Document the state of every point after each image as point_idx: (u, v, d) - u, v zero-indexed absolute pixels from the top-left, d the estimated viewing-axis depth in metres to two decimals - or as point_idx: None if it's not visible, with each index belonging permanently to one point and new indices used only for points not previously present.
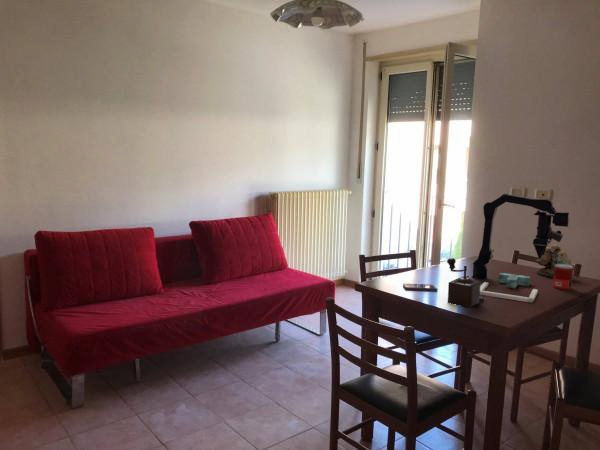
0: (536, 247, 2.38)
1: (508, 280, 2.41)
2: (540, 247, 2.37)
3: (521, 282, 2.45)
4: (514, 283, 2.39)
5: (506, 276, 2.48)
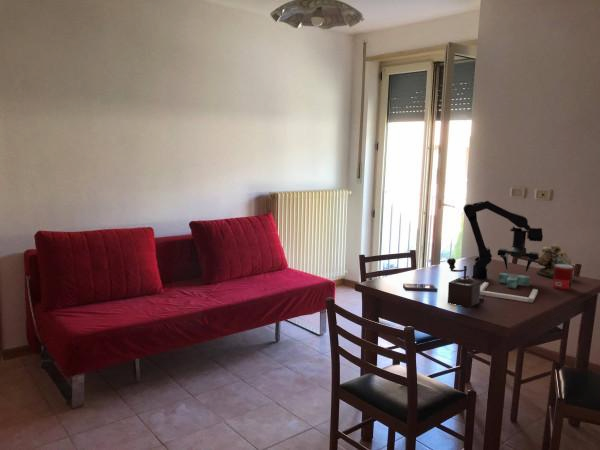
0: None
1: (508, 280, 2.41)
2: None
3: (521, 282, 2.45)
4: (514, 283, 2.39)
5: (506, 276, 2.48)
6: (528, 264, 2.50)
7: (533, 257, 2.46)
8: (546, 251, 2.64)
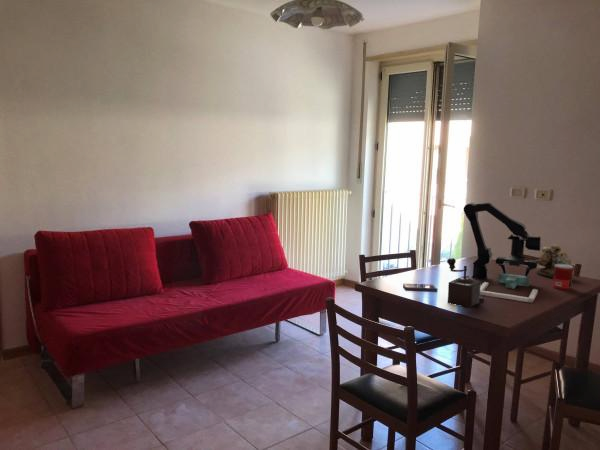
0: None
1: (507, 280, 2.40)
2: None
3: (521, 283, 2.44)
4: (513, 283, 2.39)
5: (506, 276, 2.48)
6: (527, 273, 2.46)
7: (532, 266, 2.43)
8: (546, 251, 2.64)
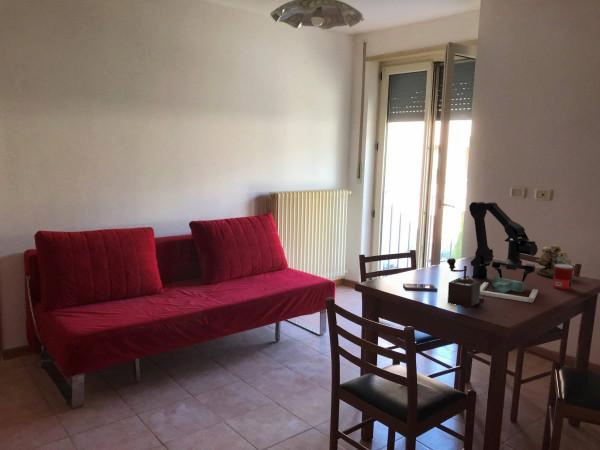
0: None
1: (496, 284, 2.33)
2: None
3: (514, 288, 2.35)
4: (502, 288, 2.31)
5: (499, 280, 2.40)
6: (524, 277, 2.38)
7: (529, 270, 2.35)
8: (546, 251, 2.64)
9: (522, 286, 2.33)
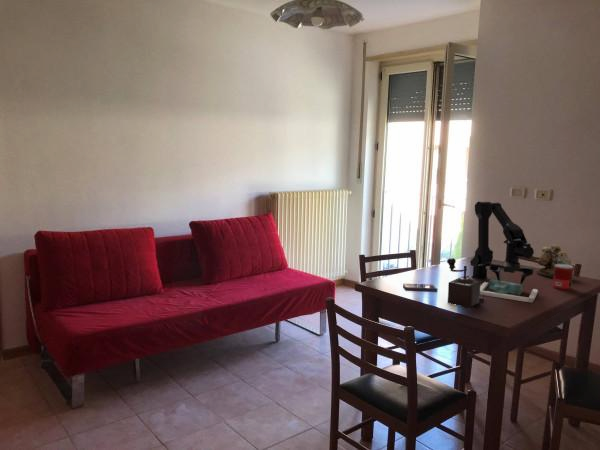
0: None
1: (495, 287, 2.28)
2: None
3: (511, 290, 2.31)
4: (500, 291, 2.26)
5: (496, 283, 2.35)
6: (522, 280, 2.33)
7: (527, 272, 2.30)
8: (546, 251, 2.64)
9: (520, 288, 2.30)
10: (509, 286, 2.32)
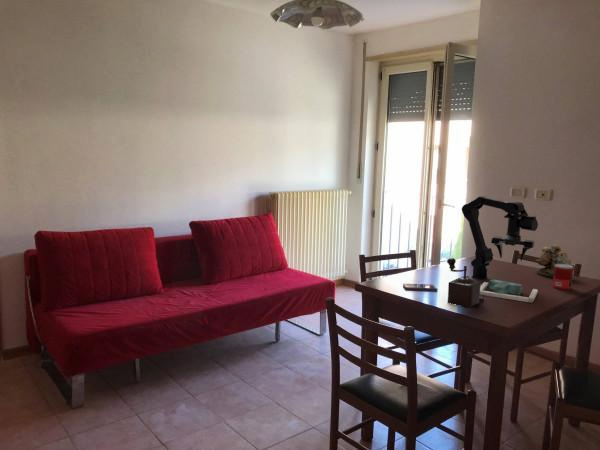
0: None
1: (495, 287, 2.28)
2: None
3: (511, 290, 2.31)
4: (500, 291, 2.26)
5: (496, 283, 2.35)
6: (523, 253, 2.40)
7: (528, 245, 2.36)
8: (546, 251, 2.64)
9: (520, 288, 2.30)
10: (509, 286, 2.32)
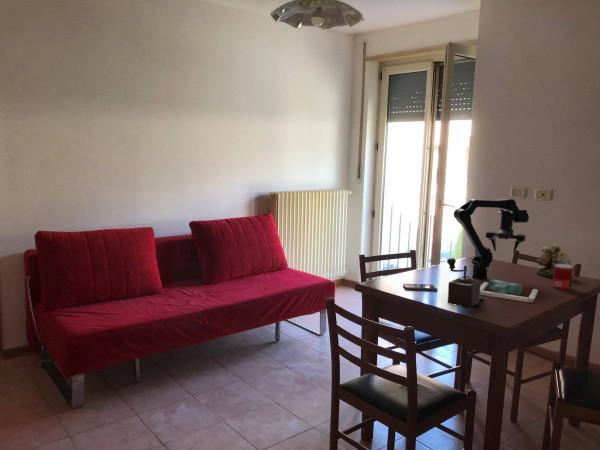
0: None
1: (495, 287, 2.28)
2: None
3: (511, 290, 2.31)
4: (500, 291, 2.26)
5: (496, 283, 2.35)
6: (515, 246, 2.54)
7: (520, 239, 2.51)
8: (546, 251, 2.64)
9: (520, 288, 2.30)
10: (509, 286, 2.32)
